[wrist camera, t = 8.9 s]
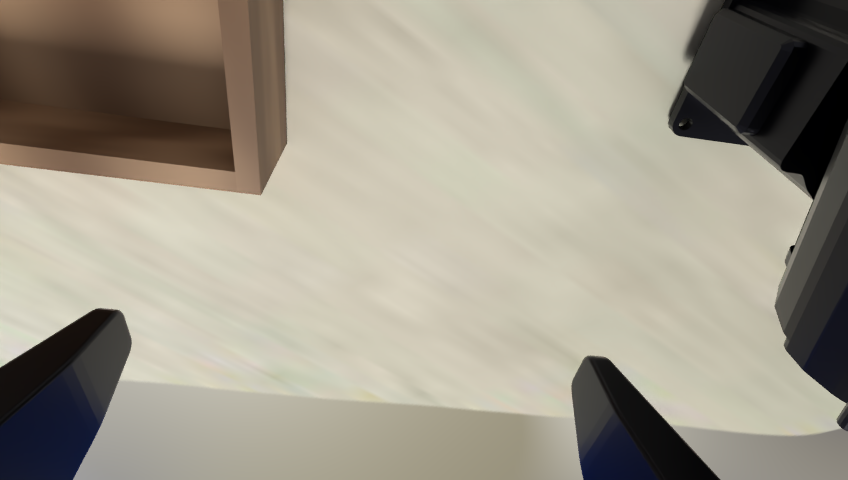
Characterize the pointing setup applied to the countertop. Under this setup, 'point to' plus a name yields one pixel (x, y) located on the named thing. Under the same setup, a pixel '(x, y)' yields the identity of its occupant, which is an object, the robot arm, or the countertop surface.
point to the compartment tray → (145, 89)
